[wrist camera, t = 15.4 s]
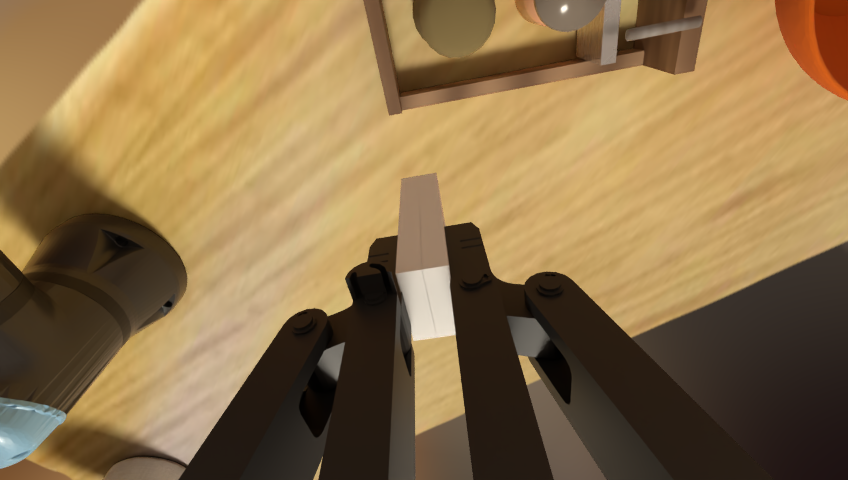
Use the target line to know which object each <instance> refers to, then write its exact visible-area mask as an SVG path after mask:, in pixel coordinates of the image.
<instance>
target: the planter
mask: <svg viewBox="0 0 848 480" xmlns="http://www.w3.org/2000/svg"><path fill="white" fill-rule="evenodd" d="M185 469H186V468H185V467H184V466H182V465H180V464H178V463H176V462H173V461H170V460H166V459H162V458H156V457H134V458H129V459H126V460H123V461H120V462H118V463H116V464H114V465H113V466H112V467H111V468H110V469H109V471H108V472H107V473H106V475H105V477H104V478H103V480H178V479H179V478H180V476H181V475H182V473H183V472H184V471H185Z"/></svg>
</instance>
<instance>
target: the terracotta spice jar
mask: <svg viewBox="0 0 848 480" xmlns="http://www.w3.org/2000/svg"><path fill="white" fill-rule="evenodd" d="M605 2H606V0H515V3H516V7H517V9H518V11H519V13H520V15H521V16H522V17H523V18H524V19H525V20H527V21H528V22H531V23H534V24H538V25H542V26H547V27H549V28H551V29H554V30H557V31H562V32H569V31H575V30H578V29H580V28H582V27H584V26H586V25H587V24H589V23H590V22H591V21H592V20H593V19H594V18H595V17H596V16H597V15H598V14H599V12H600V11H601V9H602V8H603V6H604V4H605Z"/></svg>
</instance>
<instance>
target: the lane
mask: <svg viewBox="0 0 848 480" xmlns="http://www.w3.org/2000/svg"><path fill="white" fill-rule="evenodd" d="M364 5H365V9H366V14H367V18H368V23H369V27H370V32H371V36H372V41H373V45H374V50H375V54H376V59H377V63H378V68H379V72H380V77H381V81H382V86H383V90H384V95H385V99H386V103H387V108H388V112H389V115H394V114H400V113H402V110H407V109H412V108H418V107H423V106H428V105H433V104H439V103H444V102H449V101H455V100H460V99H465V98H471V97H476V96H481V95H487V94H492V93H497V92H502V91H508V90H513V89H518V88H524V87H529V86H534V85H540V84H545V83H550V82H556V81H561V80H566V79H571V78H577V77H582V76H587V75H593V74H598V73H603V72H609V71H614V70H619V69H625V68H630V67H635V66H640V65H644V66H647V67H651V68H654V69H657V70H661V71H664V72H667V73H671V74H674V75H675V74H680V73H686V72H691V71H694V68H695V63H696V58H697V52H698V47H699V42H700V37H701V31H702V26H703V21H704V16H705V10H706V5H707V0H639V2H638V12H637V21H636V28H631V29H627V31H626V33H625V39H626V41H632V40H634V48H631V49H626V50H621V51H617V54H616V63H611V64H606V65H598V64H595V63H592V62H590V61H587V60H584V59H582V58H579V59H574V60H569V61H564V62H558V63H553V64H548V65H543V66H538V67H532V68H527V69H522V70H517V71H512V72H506V73H501V74H496V75H491V76H485V77H480V78H475V79H470V80H465V81H459V82H454V83H449V84H444V85H439V86H433V87H428V88H423V89H418V90H413V91H407V92H402V93H400V90H399V85H398V80H397V75H396V70H395V65H394V60H393V55H392V50H391V45H390V40H389V35H388V30H387V26H386V21H385V16H384V11H383V6H382V1H381V0H364Z"/></svg>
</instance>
